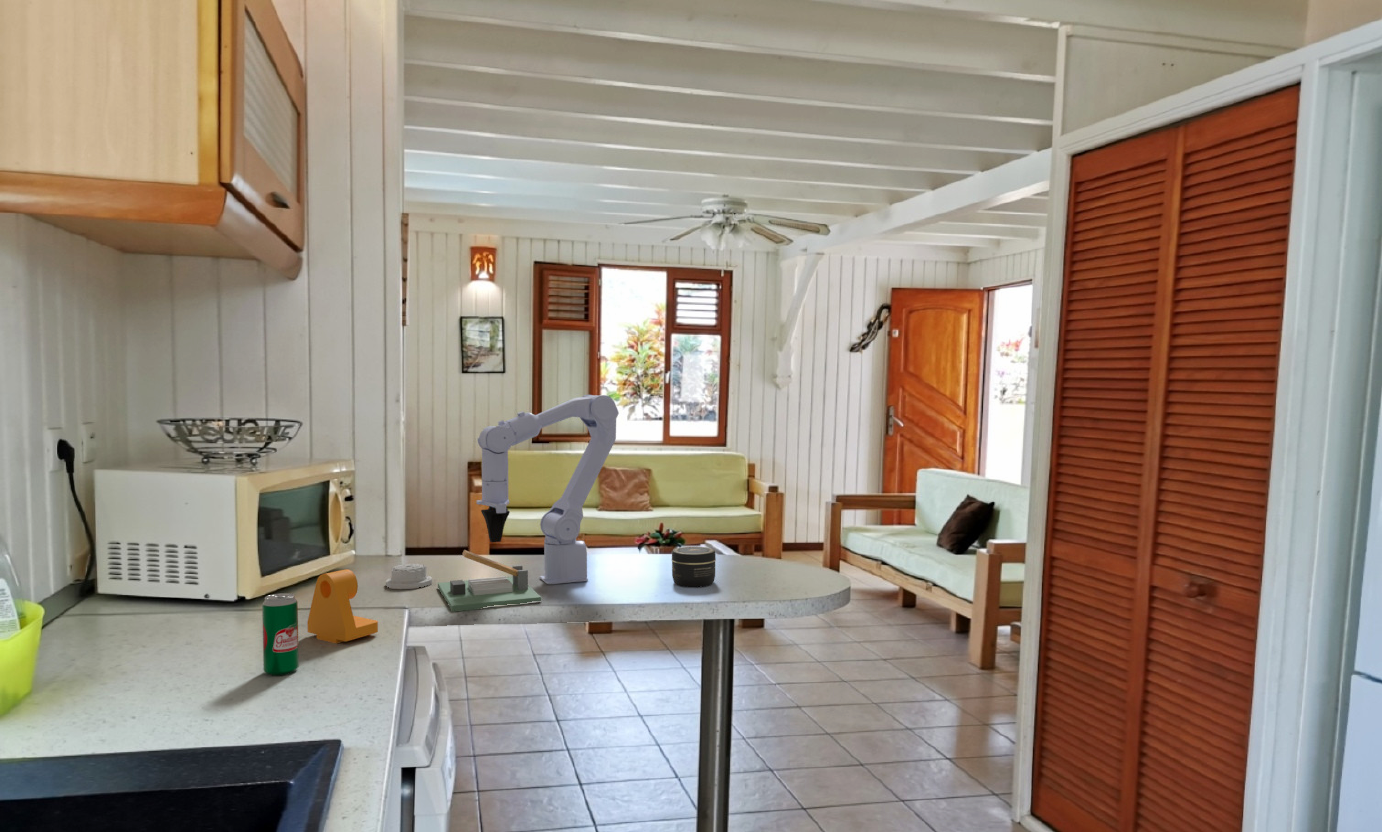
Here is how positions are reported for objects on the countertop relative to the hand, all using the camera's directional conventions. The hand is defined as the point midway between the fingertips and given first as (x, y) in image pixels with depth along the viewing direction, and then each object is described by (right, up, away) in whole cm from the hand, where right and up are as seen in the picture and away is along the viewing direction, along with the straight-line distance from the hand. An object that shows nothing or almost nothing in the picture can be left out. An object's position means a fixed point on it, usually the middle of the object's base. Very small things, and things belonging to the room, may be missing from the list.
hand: (495, 541), depth 197 cm
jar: (+44, -10, +5) cm, 45 cm away
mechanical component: (-20, -11, +4) cm, 24 cm away
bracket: (-19, -12, -37) cm, 43 cm away
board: (0, -11, -6) cm, 12 cm away
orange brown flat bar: (+1, -5, -6) cm, 8 cm away
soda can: (-21, -13, -56) cm, 62 cm away
